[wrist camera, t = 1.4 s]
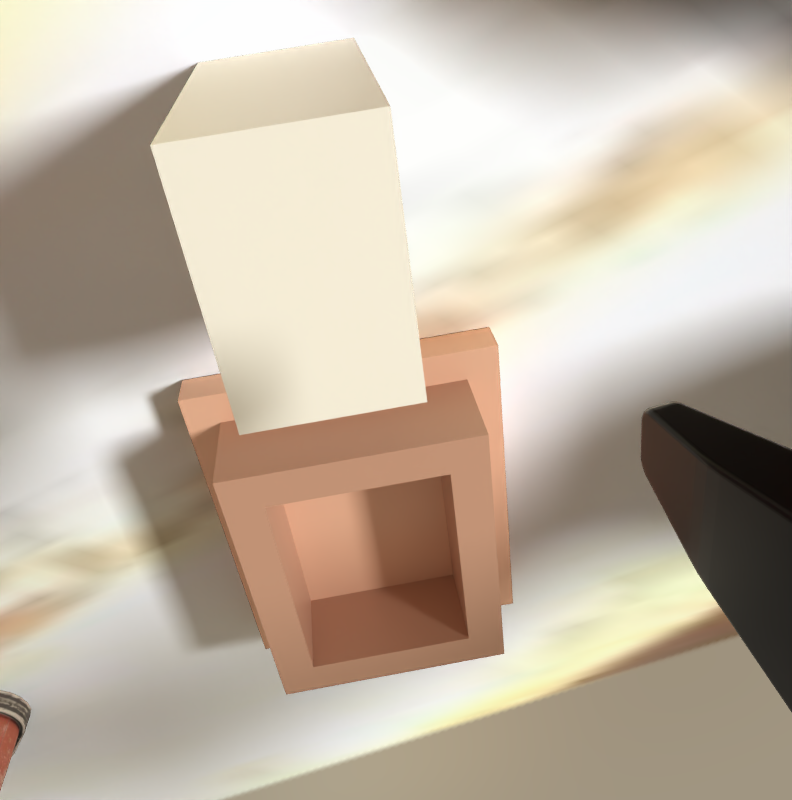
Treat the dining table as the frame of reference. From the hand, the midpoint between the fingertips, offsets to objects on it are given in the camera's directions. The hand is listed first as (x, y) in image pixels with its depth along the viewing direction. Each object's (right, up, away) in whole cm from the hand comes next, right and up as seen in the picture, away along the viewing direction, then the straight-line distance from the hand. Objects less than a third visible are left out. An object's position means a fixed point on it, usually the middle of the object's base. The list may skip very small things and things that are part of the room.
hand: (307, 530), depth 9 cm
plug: (-2, +8, +11) cm, 14 cm away
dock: (0, -2, +18) cm, 18 cm away
